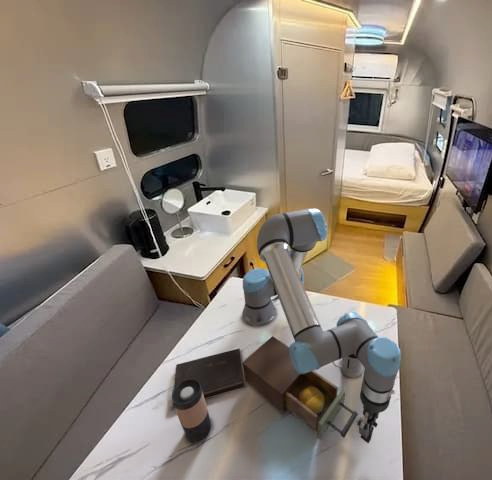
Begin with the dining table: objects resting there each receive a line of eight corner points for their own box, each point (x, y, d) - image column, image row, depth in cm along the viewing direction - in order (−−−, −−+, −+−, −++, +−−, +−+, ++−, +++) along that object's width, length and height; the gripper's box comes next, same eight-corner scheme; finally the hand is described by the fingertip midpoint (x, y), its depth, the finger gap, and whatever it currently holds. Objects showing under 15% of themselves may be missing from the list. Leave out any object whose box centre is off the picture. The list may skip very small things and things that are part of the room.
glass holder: (367, 370, 106) (372, 344, 98) (337, 388, 99) (340, 361, 92) (353, 354, 112) (357, 327, 105) (324, 369, 106) (326, 342, 98)
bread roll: (311, 421, 87) (311, 414, 85) (294, 399, 93) (294, 392, 91) (330, 404, 92) (330, 397, 90) (313, 385, 98) (313, 378, 96)
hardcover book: (177, 368, 104) (176, 364, 103) (240, 351, 111) (239, 348, 110) (173, 409, 91) (172, 405, 90) (244, 387, 98) (244, 383, 97)
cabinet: (310, 379, 102) (310, 361, 97) (282, 412, 91) (281, 394, 86) (273, 353, 111) (272, 335, 106) (245, 380, 100) (242, 362, 95)
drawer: (360, 416, 90) (363, 401, 86) (338, 454, 80) (340, 440, 76) (303, 375, 102) (304, 360, 98) (278, 405, 92) (277, 390, 88)
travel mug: (211, 439, 84) (199, 400, 74) (184, 447, 82) (168, 408, 72) (212, 414, 90) (202, 375, 80) (187, 420, 88) (173, 382, 78)
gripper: (378, 421, 63) (366, 469, 74) (400, 379, 72) (386, 427, 84) (350, 401, 66) (343, 449, 78) (374, 363, 76) (364, 412, 87)
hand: (365, 438), depth 81 cm, fingers closed
